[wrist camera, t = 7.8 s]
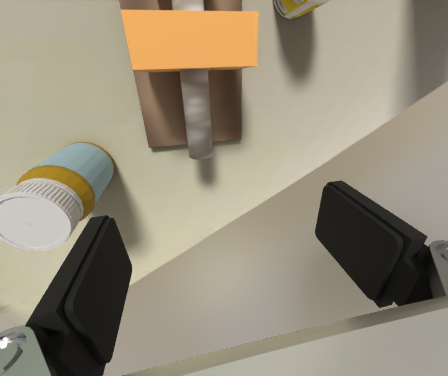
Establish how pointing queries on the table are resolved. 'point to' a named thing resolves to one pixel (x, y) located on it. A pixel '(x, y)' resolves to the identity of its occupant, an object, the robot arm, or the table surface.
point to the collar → (191, 39)
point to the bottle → (54, 197)
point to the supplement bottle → (296, 7)
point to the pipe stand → (189, 93)
